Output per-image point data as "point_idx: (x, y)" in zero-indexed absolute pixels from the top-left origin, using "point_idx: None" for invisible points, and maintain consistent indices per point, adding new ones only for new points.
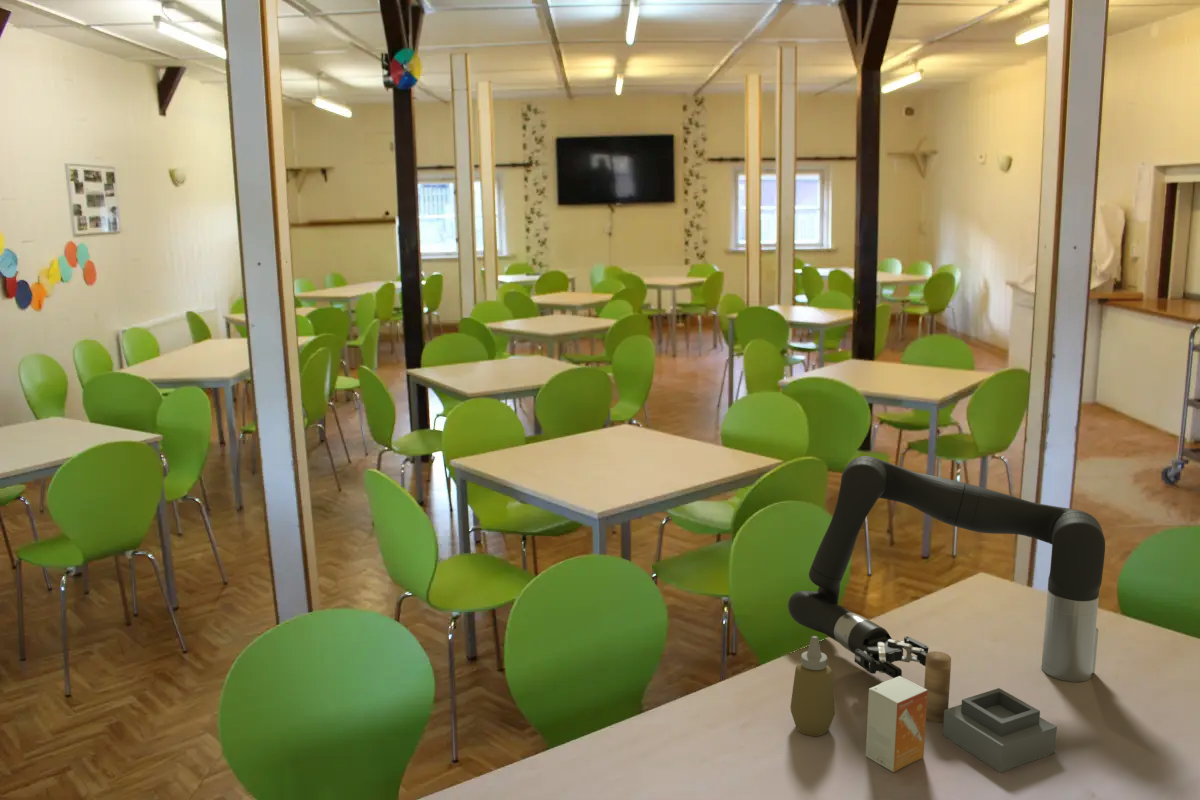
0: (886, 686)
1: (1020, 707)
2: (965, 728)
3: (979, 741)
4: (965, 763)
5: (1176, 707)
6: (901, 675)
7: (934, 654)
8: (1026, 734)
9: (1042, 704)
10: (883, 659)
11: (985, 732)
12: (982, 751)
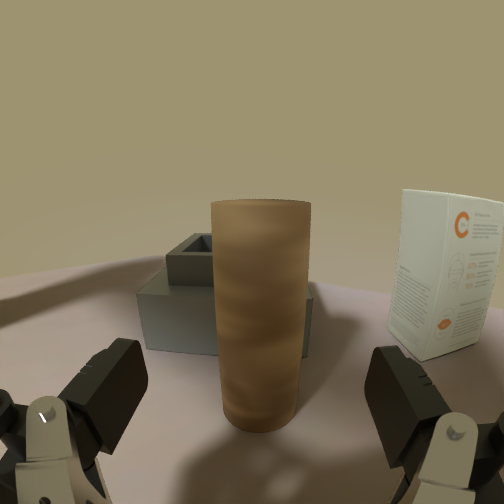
0: (476, 197)
1: (196, 247)
2: None
3: None
4: (326, 310)
5: (15, 278)
6: (369, 370)
7: (259, 203)
8: None
9: (51, 328)
10: (455, 424)
11: None
12: None
